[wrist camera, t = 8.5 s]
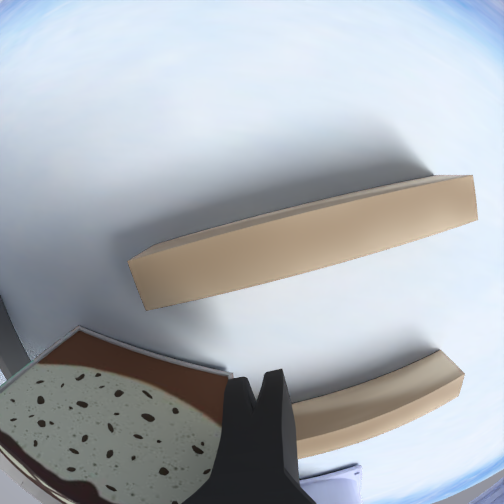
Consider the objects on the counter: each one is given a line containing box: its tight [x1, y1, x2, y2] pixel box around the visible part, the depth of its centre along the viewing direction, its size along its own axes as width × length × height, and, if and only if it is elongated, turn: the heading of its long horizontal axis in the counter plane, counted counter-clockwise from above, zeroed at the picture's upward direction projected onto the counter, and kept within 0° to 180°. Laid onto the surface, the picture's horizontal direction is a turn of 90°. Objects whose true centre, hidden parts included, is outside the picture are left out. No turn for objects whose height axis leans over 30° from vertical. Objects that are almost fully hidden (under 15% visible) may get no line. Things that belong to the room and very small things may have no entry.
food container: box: [0, 326, 233, 504], centre depth 9 cm, size 12×6×10 cm, turn 77°
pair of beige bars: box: [127, 175, 478, 459], centre depth 12 cm, size 13×14×3 cm
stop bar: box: [0, 296, 31, 380], centre depth 13 cm, size 14×2×2 cm, turn 15°
